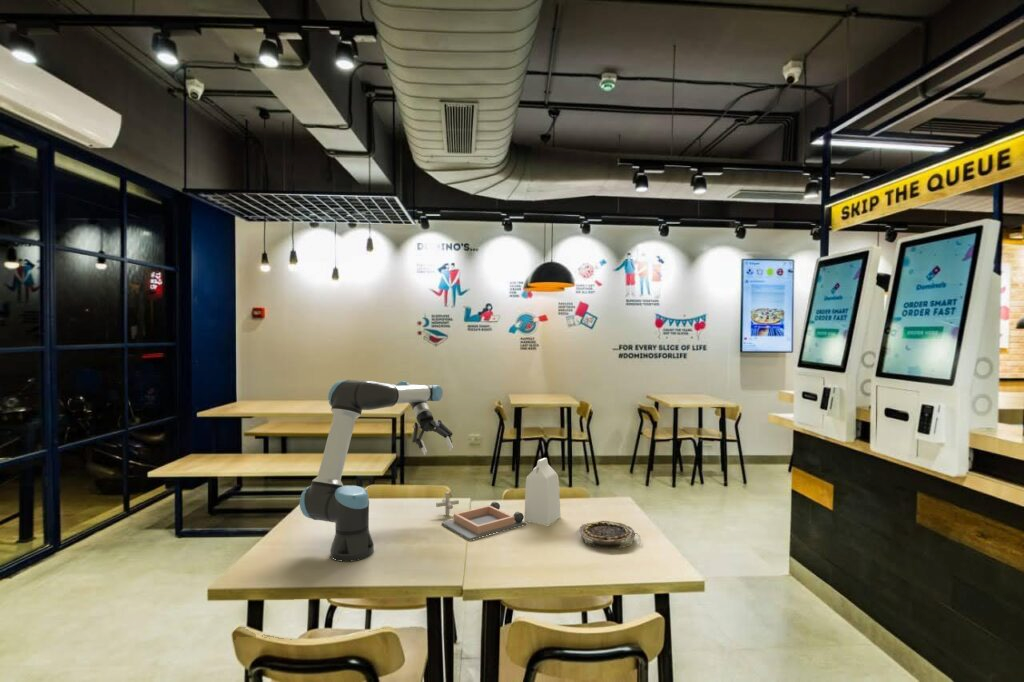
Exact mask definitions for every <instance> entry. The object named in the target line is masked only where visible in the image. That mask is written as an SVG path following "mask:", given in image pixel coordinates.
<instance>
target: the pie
mask: <svg viewBox="0 0 1024 682" xmlns="http://www.w3.org/2000/svg"><path fill="white" fill-rule="evenodd" d="M578 532H579V534H580V536H581V537H582V538H583V540H584V543H585V544H587V545H591V546H593V547H595V548H601V549H613V548H615V549H622V548H621V547H623V548H625V547H624V546H626V547H631V546H632V545H633V540H634V538H635V536H637V535H638V536H639V538H638V536H637V540H638V539H639V544H641V545H643V543H642V542H641V536H640V535H639V533H637V532H635V530H634V529H633V528H632V527H631V526H630V525H627V524H625V523H621V522H617V521H616V522H615V521H609V520H598V521H595V522H594V521H592V522H588V523H586V524H585V523H584V524H583V523H582V524H581V526H580V527H579V530H578ZM635 534H637V535H635ZM631 544H632V545H631ZM639 544H638V545H639Z"/></svg>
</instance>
